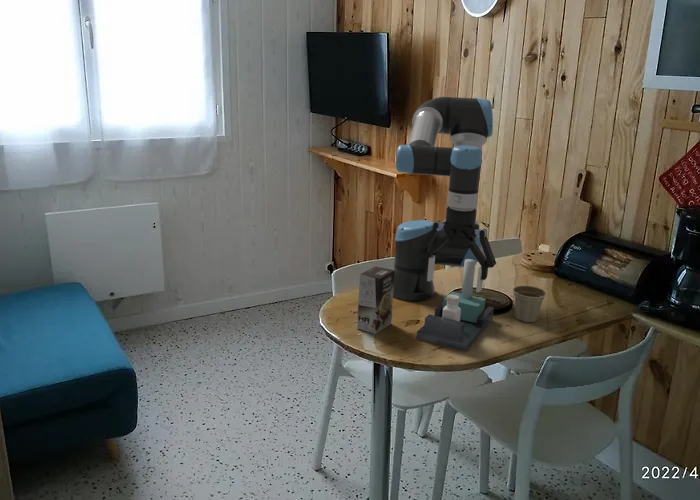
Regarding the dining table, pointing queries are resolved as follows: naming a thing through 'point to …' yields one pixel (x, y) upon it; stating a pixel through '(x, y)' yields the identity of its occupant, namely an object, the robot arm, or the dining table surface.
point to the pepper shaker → (452, 308)
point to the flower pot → (528, 302)
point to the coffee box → (375, 299)
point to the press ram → (468, 295)
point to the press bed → (467, 336)
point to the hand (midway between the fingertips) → (454, 285)
